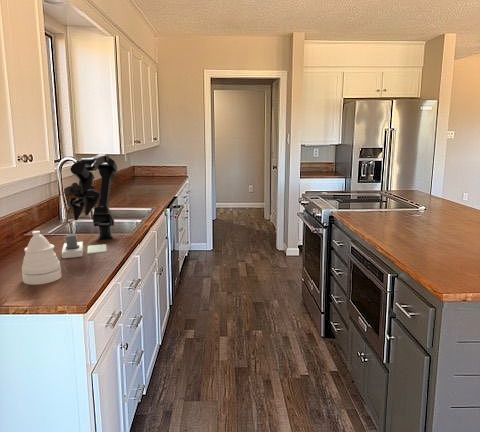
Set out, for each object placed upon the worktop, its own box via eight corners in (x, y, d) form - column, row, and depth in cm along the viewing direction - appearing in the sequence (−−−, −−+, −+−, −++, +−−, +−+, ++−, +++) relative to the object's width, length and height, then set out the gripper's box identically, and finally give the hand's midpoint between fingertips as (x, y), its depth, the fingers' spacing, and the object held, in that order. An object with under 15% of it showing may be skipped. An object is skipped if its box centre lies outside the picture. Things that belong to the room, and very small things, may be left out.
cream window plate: (64, 248, 200) (64, 243, 199) (83, 246, 202) (82, 241, 201) (62, 258, 185) (61, 252, 184) (82, 256, 187) (81, 250, 187)
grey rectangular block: (68, 252, 194) (66, 234, 192) (78, 251, 195) (76, 233, 193) (67, 254, 190) (66, 236, 188) (77, 253, 191) (75, 235, 190)
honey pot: (59, 282, 157) (54, 232, 153) (20, 286, 153) (13, 236, 149) (63, 271, 169) (58, 225, 165) (26, 274, 165) (20, 228, 161)
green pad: (87, 246, 202) (87, 245, 202) (106, 245, 204) (106, 244, 204) (87, 253, 190) (87, 252, 190) (106, 251, 193) (106, 250, 193)
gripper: (58, 184, 195) (52, 217, 190) (78, 172, 183) (73, 207, 177) (81, 192, 202) (77, 224, 197) (102, 180, 190) (98, 214, 185)
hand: (80, 217), depth 189 cm, fingers open, 9 cm apart
